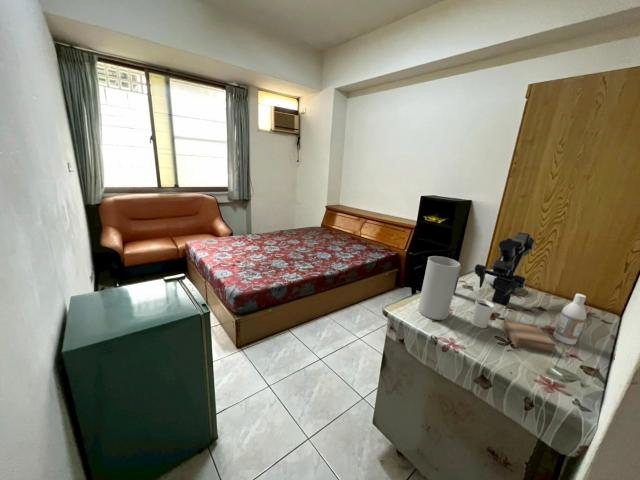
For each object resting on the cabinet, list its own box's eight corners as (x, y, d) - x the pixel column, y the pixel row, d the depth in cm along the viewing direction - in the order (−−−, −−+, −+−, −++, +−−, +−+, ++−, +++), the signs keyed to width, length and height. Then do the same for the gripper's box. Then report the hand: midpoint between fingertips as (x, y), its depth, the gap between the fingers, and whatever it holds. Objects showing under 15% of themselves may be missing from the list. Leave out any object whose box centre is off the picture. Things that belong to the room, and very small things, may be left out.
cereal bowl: (479, 278, 163) (482, 267, 161) (509, 282, 159) (512, 272, 157) (488, 289, 147) (492, 278, 145) (522, 295, 143) (526, 283, 141)
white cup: (490, 329, 108) (497, 308, 105) (473, 327, 109) (479, 305, 107) (484, 321, 114) (490, 300, 112) (468, 318, 116) (473, 298, 113)
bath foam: (566, 346, 101) (585, 300, 96) (548, 334, 108) (564, 291, 102) (580, 344, 103) (598, 299, 97) (560, 333, 109) (577, 290, 104)
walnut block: (501, 328, 110) (504, 320, 109) (533, 333, 108) (536, 325, 107) (516, 347, 98) (519, 337, 97) (552, 353, 96) (555, 344, 95)
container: (456, 292, 140) (462, 266, 136) (453, 295, 136) (459, 269, 132) (447, 289, 143) (452, 264, 139) (444, 292, 139) (450, 266, 135)
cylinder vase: (434, 304, 126) (444, 255, 119) (454, 319, 114) (467, 266, 107) (412, 306, 122) (422, 256, 115) (430, 322, 110) (442, 267, 103)
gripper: (481, 247, 119) (467, 275, 114) (531, 259, 106) (518, 291, 102) (482, 260, 126) (469, 286, 122) (529, 273, 113) (517, 303, 109)
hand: (491, 291), depth 113 cm, fingers open, 9 cm apart
